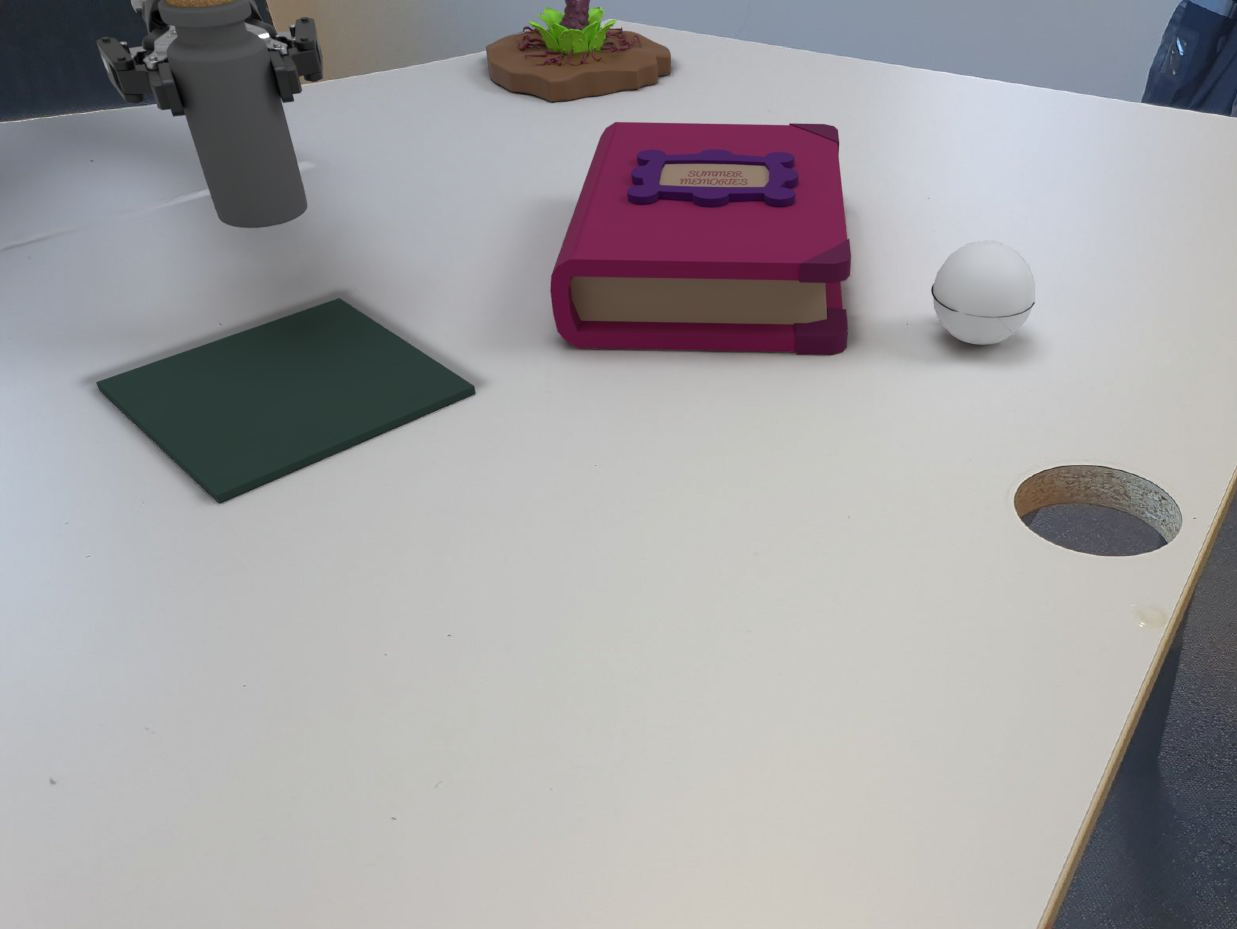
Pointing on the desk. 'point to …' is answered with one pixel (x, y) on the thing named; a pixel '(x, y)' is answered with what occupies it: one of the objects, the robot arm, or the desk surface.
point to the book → (707, 241)
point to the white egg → (983, 292)
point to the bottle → (234, 113)
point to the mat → (281, 395)
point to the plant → (575, 56)
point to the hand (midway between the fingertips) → (229, 92)
